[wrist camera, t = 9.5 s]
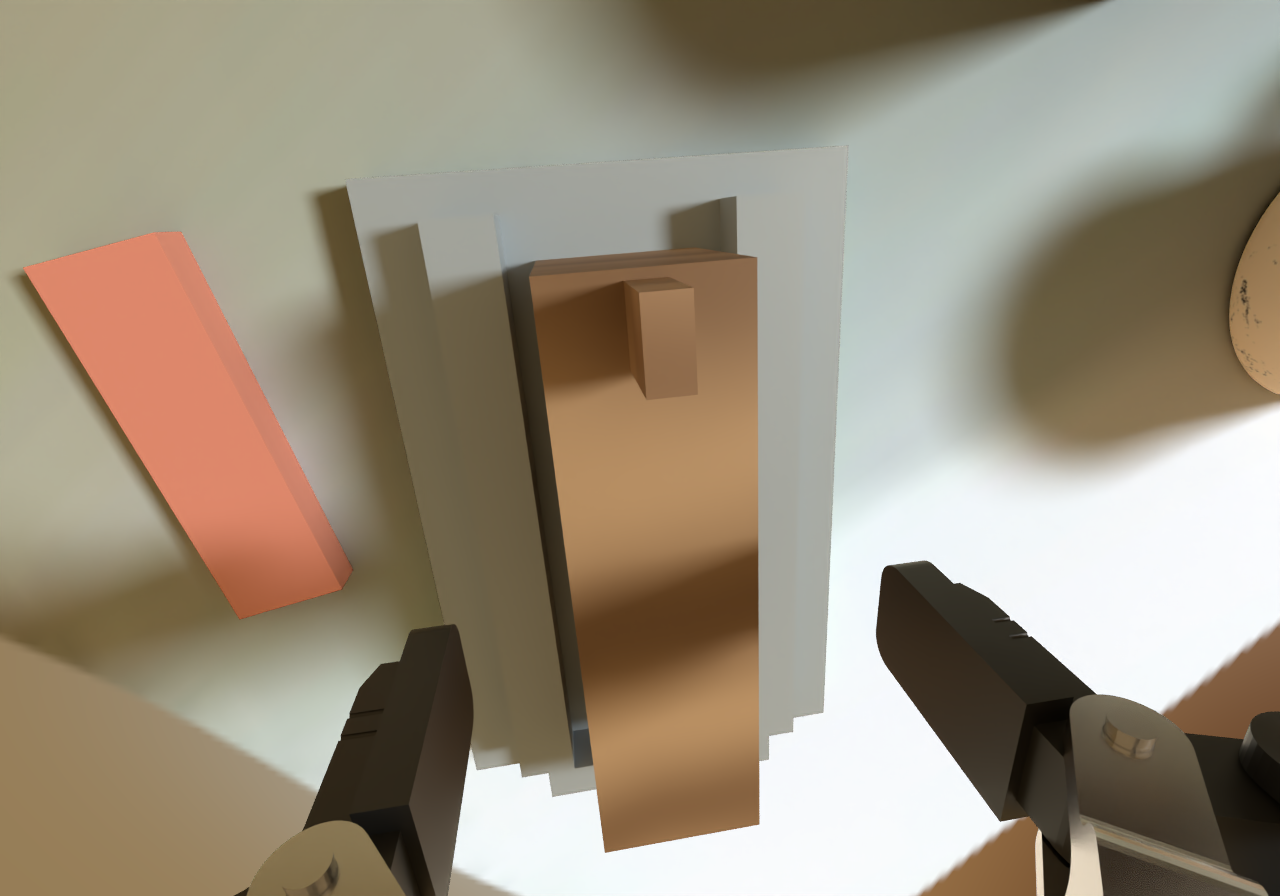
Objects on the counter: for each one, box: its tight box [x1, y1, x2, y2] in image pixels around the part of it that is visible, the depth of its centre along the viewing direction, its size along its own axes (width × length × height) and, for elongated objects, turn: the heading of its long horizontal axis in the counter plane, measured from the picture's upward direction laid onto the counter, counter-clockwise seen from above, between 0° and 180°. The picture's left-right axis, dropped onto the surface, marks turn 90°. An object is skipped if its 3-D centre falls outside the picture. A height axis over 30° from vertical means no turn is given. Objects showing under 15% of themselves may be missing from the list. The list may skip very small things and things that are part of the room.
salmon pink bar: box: [23, 232, 353, 619], centre depth 16 cm, size 10×3×2 cm, turn 14°
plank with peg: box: [529, 247, 759, 853], centre depth 14 cm, size 14×4×7 cm, turn 4°
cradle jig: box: [345, 145, 848, 797], centre depth 17 cm, size 18×12×3 cm, turn 4°
